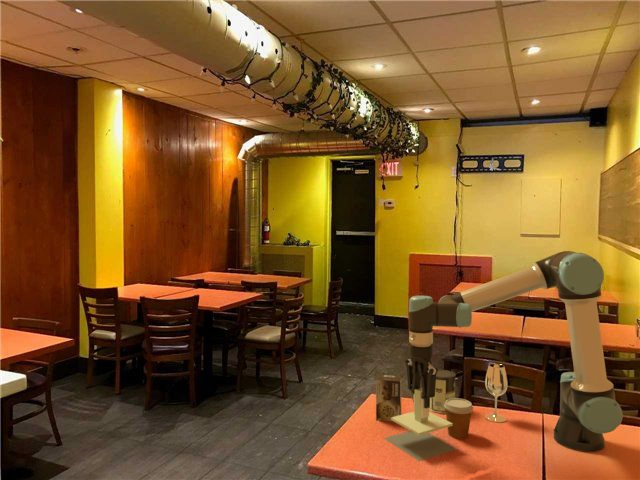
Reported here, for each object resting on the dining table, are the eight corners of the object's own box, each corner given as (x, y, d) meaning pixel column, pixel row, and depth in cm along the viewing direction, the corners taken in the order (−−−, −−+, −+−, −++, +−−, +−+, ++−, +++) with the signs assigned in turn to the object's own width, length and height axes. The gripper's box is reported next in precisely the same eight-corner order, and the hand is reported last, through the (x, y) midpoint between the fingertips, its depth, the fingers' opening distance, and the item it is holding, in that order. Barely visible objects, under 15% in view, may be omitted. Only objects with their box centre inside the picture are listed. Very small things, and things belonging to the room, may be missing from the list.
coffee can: (451, 403, 201) (451, 369, 200) (458, 413, 191) (458, 377, 190) (425, 403, 201) (426, 369, 200) (431, 413, 191) (431, 377, 190)
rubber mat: (457, 452, 159) (457, 449, 159) (418, 464, 152) (419, 461, 151) (420, 431, 175) (420, 428, 175) (383, 441, 167) (383, 438, 167)
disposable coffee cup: (473, 444, 165) (474, 409, 164) (444, 442, 166) (444, 406, 166) (471, 432, 174) (471, 398, 173) (443, 430, 176) (443, 396, 175)
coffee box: (401, 418, 186) (402, 375, 186) (400, 425, 180) (400, 381, 179) (377, 415, 189) (377, 373, 188) (375, 422, 182) (375, 379, 182)
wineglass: (482, 413, 191) (483, 362, 190) (504, 414, 190) (505, 363, 189) (486, 422, 183) (487, 368, 182) (508, 423, 182) (510, 369, 181)
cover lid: (452, 425, 160) (452, 392, 160) (418, 435, 153) (418, 400, 153) (423, 411, 172) (423, 380, 172) (390, 419, 166) (390, 387, 165)
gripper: (396, 340, 167) (396, 409, 168) (428, 351, 153) (429, 426, 154) (413, 337, 171) (414, 405, 172) (447, 347, 157) (447, 421, 158)
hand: (421, 415), depth 163 cm, fingers closed on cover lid, 3 cm apart
